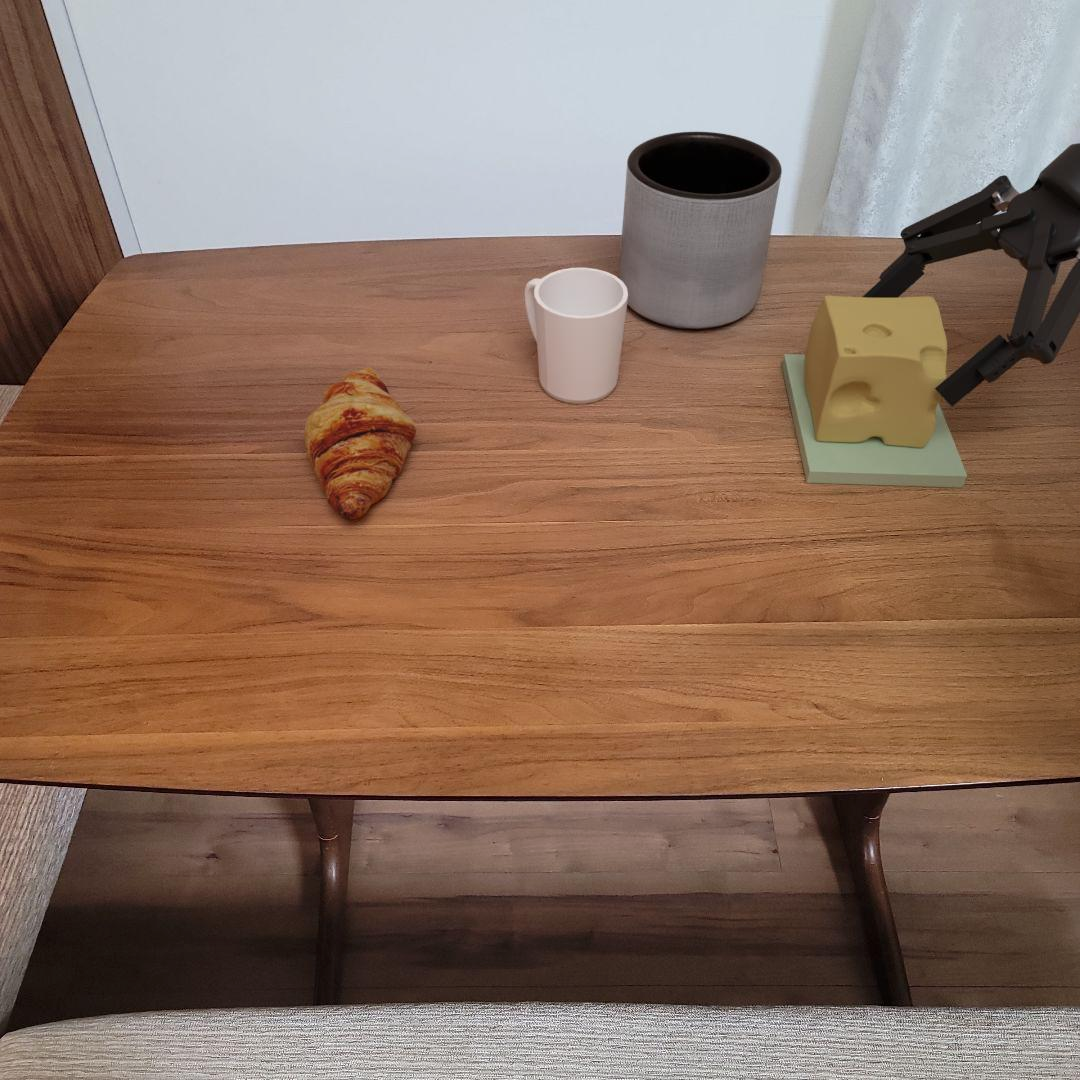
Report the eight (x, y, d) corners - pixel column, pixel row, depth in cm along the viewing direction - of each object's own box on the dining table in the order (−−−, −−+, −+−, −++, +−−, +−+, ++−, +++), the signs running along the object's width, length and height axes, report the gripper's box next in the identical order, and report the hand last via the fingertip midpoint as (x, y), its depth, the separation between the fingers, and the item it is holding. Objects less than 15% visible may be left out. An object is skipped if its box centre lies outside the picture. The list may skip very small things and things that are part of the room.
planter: (634, 342, 100) (645, 204, 88) (604, 265, 111) (611, 134, 99) (777, 328, 101) (806, 192, 90) (734, 254, 112) (755, 124, 101)
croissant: (345, 414, 97) (295, 359, 92) (426, 372, 94) (380, 313, 89) (331, 561, 82) (271, 505, 77) (427, 516, 79) (371, 455, 74)
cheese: (927, 450, 85) (962, 360, 78) (808, 444, 86) (832, 354, 79) (906, 382, 92) (937, 293, 85) (796, 377, 93) (818, 288, 86)
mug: (638, 374, 96) (646, 286, 88) (590, 419, 91) (593, 329, 83) (551, 338, 100) (552, 251, 93) (501, 379, 95) (497, 291, 88)
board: (962, 488, 84) (967, 475, 83) (806, 483, 84) (809, 471, 83) (916, 369, 96) (921, 357, 95) (781, 365, 97) (783, 353, 96)
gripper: (1235, 270, 71) (999, 456, 79) (1027, 138, 88) (848, 303, 96) (1216, 215, 66) (966, 419, 74) (999, 86, 83) (813, 264, 91)
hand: (899, 354), depth 85 cm, fingers open, 13 cm apart
